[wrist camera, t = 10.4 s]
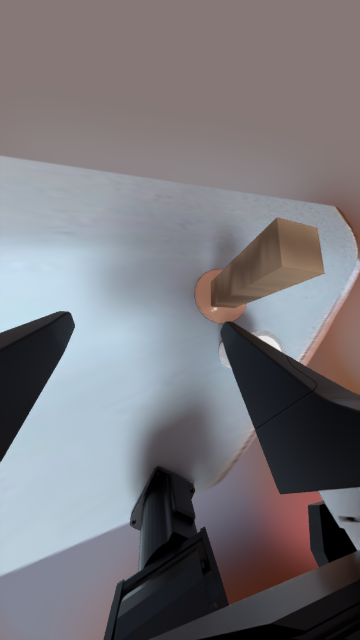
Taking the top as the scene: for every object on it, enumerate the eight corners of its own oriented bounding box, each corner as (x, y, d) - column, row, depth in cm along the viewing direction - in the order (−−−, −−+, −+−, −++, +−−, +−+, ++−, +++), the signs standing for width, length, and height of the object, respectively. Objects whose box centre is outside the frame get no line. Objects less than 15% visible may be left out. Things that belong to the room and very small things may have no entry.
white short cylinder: (253, 367, 24) (293, 378, 17) (220, 377, 23) (249, 393, 16) (244, 330, 25) (279, 326, 18) (211, 337, 23) (236, 335, 17)
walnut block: (234, 308, 24) (324, 273, 12) (211, 306, 23) (282, 266, 11) (233, 284, 25) (317, 227, 12) (210, 281, 24) (276, 217, 11)
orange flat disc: (230, 333, 24) (233, 333, 23) (184, 303, 23) (185, 301, 22) (251, 291, 26) (254, 289, 26) (210, 261, 25) (212, 259, 25)
